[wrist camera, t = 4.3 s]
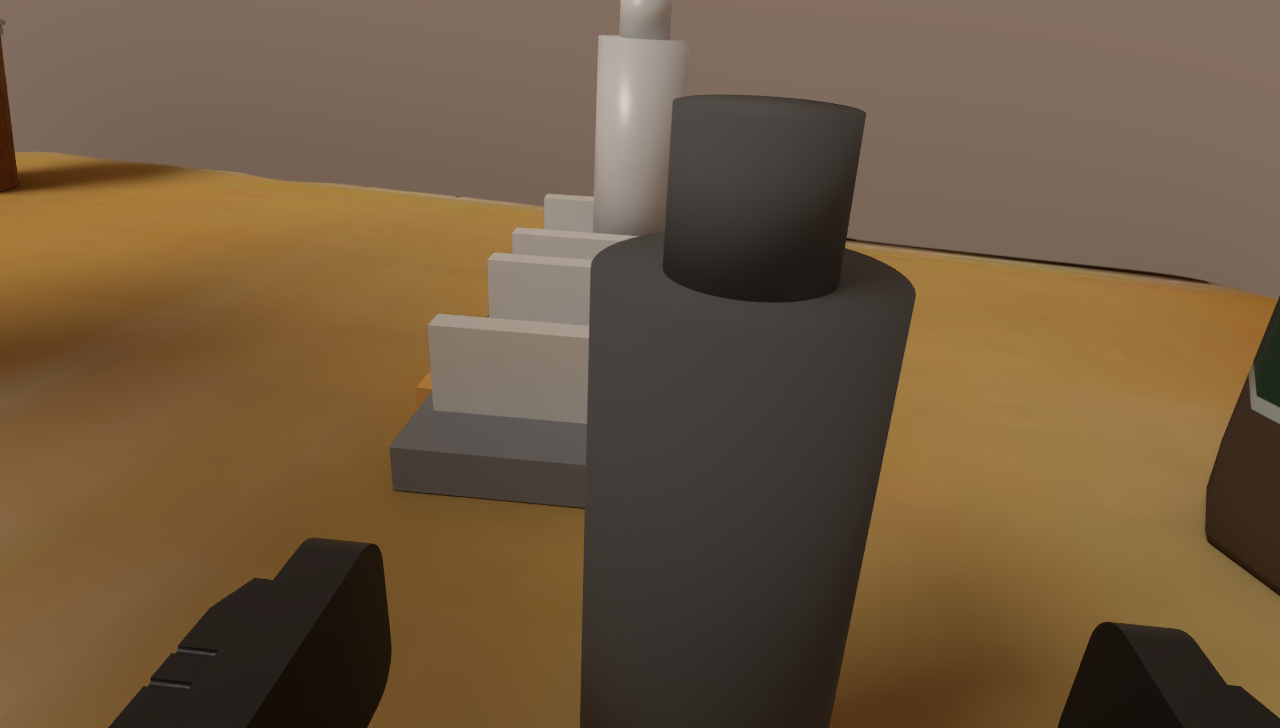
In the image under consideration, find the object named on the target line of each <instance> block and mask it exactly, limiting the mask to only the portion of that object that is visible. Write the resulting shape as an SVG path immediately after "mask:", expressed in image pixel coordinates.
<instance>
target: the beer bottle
mask: <svg viewBox="0 0 1280 728" xmlns="http://www.w3.org/2000/svg"><path fill="white" fill-rule="evenodd" d="M1205 531H1206V535H1207V540H1208V542H1209V543H1210V544H1211V545H1213V546H1214V547H1215V548H1217V549H1218V550H1219V551H1221V552H1222V553H1224V554H1225V555H1226V556H1228V557H1229V558H1230V559H1232V560H1233V561H1234V562H1236V563H1237V564H1238V565H1240V566H1241V567H1242V568H1244V569H1245V570H1246V571H1248V572H1249V573H1250V574H1252V575H1253V576H1254V577H1256V578H1257V579H1258V580H1260V581H1261V582H1262V583H1264V584H1265V585H1266V586H1268V587H1269V588H1271V589H1272V590H1273V591H1275V592H1276V593H1277V594H1279V595H1280V297H1279V299H1278V302H1277V304H1276V307H1275V309H1274V312H1273V314H1272V317H1271V319H1270V322H1269V324H1268V327H1267V329H1266V331H1265V334H1264V336H1263V339H1262V341H1261V344H1260V346H1259V349H1258V351H1257V354H1256V356H1255V359H1254V361H1253V364H1252V366H1251V369H1250V371H1249V374H1248V376H1247V379H1246V381H1245V384H1244V386H1243V389H1242V391H1241V394H1240V396H1239V399H1238V401H1237V404H1236V406H1235V409H1234V411H1233V414H1232V416H1231V419H1230V421H1229V423H1228V426H1227V428H1226V431H1225V433H1224V436H1223V438H1222V441H1221V444H1220V448H1219V451H1218V454H1217V457H1216V460H1215V463H1214V466H1213V470H1212V473H1211V476H1210V479H1209V482H1208V485H1207V495H1206V526H1205Z"/></svg>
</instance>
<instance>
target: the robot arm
mask: <svg viewBox="0 0 1280 728" xmlns="http://www.w3.org/2000/svg"><path fill="white" fill-rule="evenodd" d="M390 663H391V635H390V625H389V616H388V606H387V597H386V587H385V577H384V568H383V559H382V554H381V551H380V549H379V547H378V546H377V545H375V544H371V543H361V542H351V541H342V540H332V539H322V538H309V539H307V540H306V541H304V542H303V543H302V544H301V545H300V546H299V548H298V549H297V550H296V551H295V553H294V554H293V555H292V557H291V558H290V559H289V560H288V562H287V563H286V564H285V566H284V567H283V568H282V569H281V571H280V572H279V573H278V575H277V576H276V577H275V578H274V580H268V579H259V578H254V579H252V580H251V581H249V582H248V583H246V584H245V585H244V586H242V587H241V588H239V589H238V590H236V591H235V592H233V593H232V594H230V595H229V596H227V597H226V598H224V599H223V600H221V601H220V602H218V603H217V604H215V605H214V606H212V607H211V608H209V610H208V611H207V612H206V613H205V614H204V616H203V617H202V618H201V619H200V620H199V621H198V623H197V624H196V625H195V626H194V627H193V629H192V630H191V631H190V632H189V633H188V634H187V636H186V637H185V638H184V639H183V640H182V641H181V643H180V644H179V645H178V650H177V652H176V654H174V653H171V654H170V656H169V657H168V658H167V659H166V660H165V662H164V663H163V664H162V665H161V666H160V667H159V669H158V670H157V671H156V672H155V673H154V675H153V676H152V677H151V682H150V684H149V686H148V687H146V686H143V687H142V689H141V690H140V691H139V692H138V693H137V695H136V696H135V697H134V698H133V699H132V700H131V702H130V703H129V704H128V705H127V706H126V708H125V709H124V710H123V711H122V712H121V713H120V715H119V716H118V717H117V718H116V719H115V720H114V722H113V723H112V724H111V725H110V726H109V728H367V727H368V725H369V723H370V721H371V719H372V717H373V715H374V713H375V711H376V709H377V706H378V704H379V702H380V700H381V698H382V695H383V692H384V689H385V686H386V683H387V679H388V674H389V669H390ZM1058 728H1280V718H1278V717H1277V716H1276V715H1275V714H1274V713H1272V712H1271V711H1270V710H1269V709H1268V708H1266V707H1265V706H1264V705H1263V704H1261V703H1260V702H1259V701H1258V700H1257V699H1255V698H1254V697H1253V696H1252V695H1250V694H1249V693H1248V692H1247V691H1246V690H1244V689H1243V688H1242V687H1241V686H1232V685H1227V684H1226V682H1225V681H1224V680H1223V678H1222V677H1221V676H1220V674H1219V673H1218V672H1217V670H1216V669H1215V667H1214V666H1213V665H1212V663H1211V662H1210V661H1209V659H1208V658H1207V657H1206V655H1205V654H1204V652H1203V651H1202V650H1201V648H1200V647H1199V646H1198V644H1197V643H1196V642H1195V641H1194V639H1193V638H1192V637H1191V636H1190V635H1188V634H1187V633H1186V632H1184V631H1182V630H1179V629H1172V628H1162V627H1153V626H1143V625H1133V624H1124V623H1114V622H1103V623H1101V624H1099V625H1098V626H1097V627H1096V628H1095V630H1094V631H1093V633H1092V635H1091V637H1090V640H1089V642H1088V645H1087V648H1086V651H1085V653H1084V656H1083V659H1082V661H1081V664H1080V667H1079V669H1078V672H1077V675H1076V677H1075V680H1074V683H1073V685H1072V688H1071V691H1070V694H1069V696H1068V699H1067V702H1066V704H1065V707H1064V710H1063V712H1062V715H1061V718H1060V721H1059V724H1058Z"/></svg>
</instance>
